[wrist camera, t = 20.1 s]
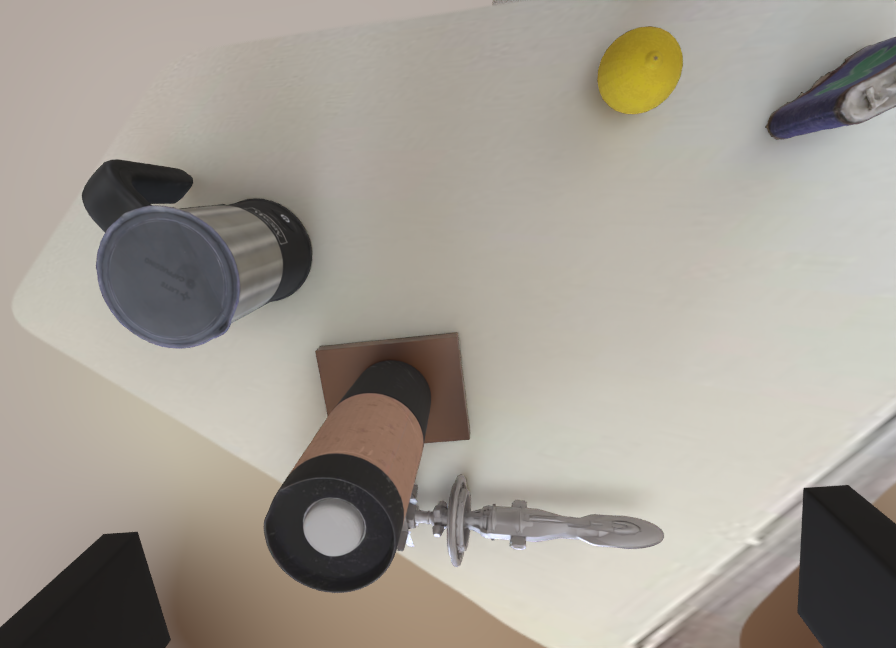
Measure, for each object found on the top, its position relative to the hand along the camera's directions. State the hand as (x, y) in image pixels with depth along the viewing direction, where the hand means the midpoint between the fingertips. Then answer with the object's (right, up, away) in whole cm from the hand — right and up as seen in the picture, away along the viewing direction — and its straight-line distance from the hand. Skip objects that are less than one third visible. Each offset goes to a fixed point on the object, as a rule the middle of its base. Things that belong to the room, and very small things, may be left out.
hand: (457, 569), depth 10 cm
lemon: (+14, +24, +31) cm, 42 cm away
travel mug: (-5, -2, +38) cm, 38 cm away
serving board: (-5, -1, +39) cm, 39 cm away
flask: (+29, +23, +30) cm, 48 cm away
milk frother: (-20, +10, +37) cm, 44 cm away
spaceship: (+1, -12, +41) cm, 43 cm away
